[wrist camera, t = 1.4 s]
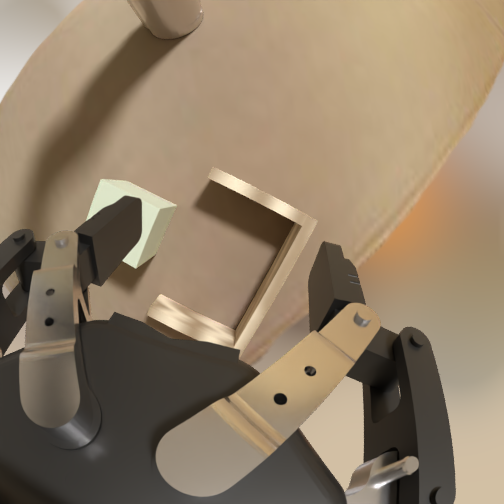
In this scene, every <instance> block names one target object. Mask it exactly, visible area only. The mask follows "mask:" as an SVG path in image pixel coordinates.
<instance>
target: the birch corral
mask: <svg viewBox="0 0 504 504" xmlns="http://www.w3.org/2000/svg"><path fill="white" fill-rule="evenodd" d="M207 178H209V179H211V180H213V181H215V182H218V183H220V184H222V185H224V186H226V187H228V188H230V189H232V190H234V191H236V192H238V193H240V194H242V195H244V196H246V197H248V198H250V199H252V200H254V201H256V202H258V203H260V204H261V205H263V206H265V207H267V208H269V209H271V210H273V211H275V212H277V213H279V214H281V215H283V216H284V217H286V218H288V219H290V220H292V221H294V222H295V223H294V225H293V227H292V229H291V231H290V233H289V234H288V236H287V238H286V240H285V242H284V244H283V246H282V247H281V249H280V251H279V253H278V255H277V257H276V259H275V260H274V262H273V264H272V266H271V268H270V269H269V271H268V273H267V275H266V277H265V279H264V280H263V282H262V284H261V286H260V288H259V289H258V291H257V293H256V295H255V297H254V298H253V300H252V302H251V304H250V306H249V307H248V309H247V311H246V313H245V314H244V316H243V318H242V320H241V321H240V323H239V325H238V327H237V329H236V330H234V329H232V328H229V327H227V326H225V325H223V324H221V323H218V322H216V321H214V320H212V319H210V318H208V317H206V316H203V315H201V314H199V313H197V312H195V311H193V310H191V309H189V308H187V307H185V306H183V305H181V304H179V303H177V302H175V301H173V300H171V299H169V298H167V297H165V296H163V295H161V294H160V295H159V296H158V298H157V299H156V300H155V301H154V303H153V304H152V305H151V306H150V308H149V311H148V314H147V315H148V316H150V317H152V318H153V319H155V320H157V321H159V322H161V323H163V324H165V325H167V326H169V327H171V328H173V329H175V330H177V331H179V332H181V333H183V334H185V335H187V336H190V337H192V338H194V339H196V340H198V341H207V342H211V343H215V344H219V345H223V346H227V347H231V348H235V349H239V350H240V354H239V358H240V356H241V354H242V353H243V351H244V349H245V348H246V346H247V345H248V343H249V341H250V340H251V338H252V336H253V335H254V333H255V331H256V330H257V328H258V326H259V325H260V323H261V321H262V320H263V318H264V316H265V315H266V313H267V311H268V310H269V308H270V306H271V304H272V303H273V301H274V299H275V298H276V296H277V294H278V292H279V291H280V289H281V287H282V285H283V284H284V282H285V280H286V278H287V277H288V275H289V273H290V271H291V270H292V268H293V266H294V264H295V262H296V261H297V259H298V257H299V255H300V253H301V252H302V250H303V248H304V246H305V244H306V242H307V241H308V239H309V237H310V235H311V233H312V231H313V229H314V228H315V226H316V224H317V222H318V221H317V220H315V219H313V218H312V217H310V216H308V215H306V214H304V213H303V212H301V211H299V210H297V209H295V208H293V207H292V206H290V205H288V204H286V203H284V202H282V201H280V200H279V199H277V198H275V197H273V196H271V195H269V194H267V193H265V192H263V191H261V190H259V189H257V188H255V187H253V186H251V185H250V184H248V183H246V182H244V181H242V180H240V179H238V178H235V177H233V176H231V175H229V174H227V173H225V172H223V171H221V170H219V169H217V168H215V167H212V169H211V171H210V173H209V175H208V177H207Z"/></svg>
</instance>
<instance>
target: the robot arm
mask: <svg viewBox="0 0 504 504" xmlns="http://www.w3.org/2000/svg"><path fill="white" fill-rule="evenodd" d="M127 2H128V3H129V4H130V6H131V7H132V9H133V10H134V12H135V13H136V15H137V16H138V18H139V19H140V20H141V22H142V23H143V25H144V26H145V28H148V29H149V30H150V31H151V33H152V34H153V35H154V36H156V37H158V38H161V39H174V38H178V37H182V36H184V35H186V34H188V33H190V32H192V31H193V30H194V29H196V28H197V27H198V26H199V24H200V23H201V21H202V19H203V10H202V7H201V3H200V0H127ZM141 234H142V201H141V199H140V198H137V197H132V196H127V195H125V196H123V197H122V198H120V199H119V200H118V201H116V202H115V203H114V204H111V205H109V206H106V207H104V208H102V209H101V210H100V211H98V212H97V214H95V215H93V216H92V217H91V219H88V220H87V221H86V222H85V223H83V224H82V225H81V226H80V227H78V228H77V229H76V230H75V231H74V232H73V231H69V230H64V231H59V232H56V233H54V234H52V235H51V236H50V237H49V238H48V239H47V240H46V241H35V238H34V233H33V231H32V230H30V229H22V230H18V231H16V232H14V233H13V234H11V235H10V236H9V237H8V238H7V239H5V240H4V241H3V242H2V243H1V244H0V504H453V503H454V500H455V494H456V488H455V468H454V456H453V447H452V439H451V433H450V425H449V419H448V414H447V409H446V404H445V398H444V394H443V389H442V385H441V381H440V376H439V373H438V369H437V365H436V361H435V358H434V354H433V351H432V348H431V344H430V342H429V340H428V338H427V337H426V336H425V335H424V334H423V333H422V332H421V331H420V330H418V329H416V328H413V327H405V328H404V329H403V330H402V331H401V332H400V333H399V335H398V334H395V333H393V332H391V331H389V330H387V329H385V328H383V327H381V322H380V319H379V317H378V315H377V314H376V312H375V311H374V310H372V309H371V308H370V307H368V306H366V303H365V299H364V296H363V292H362V288H361V285H360V281H359V278H358V274H357V271H356V268H355V266H354V265H353V264H352V263H351V261H350V260H348V259H345V258H344V256H343V252H342V248H341V246H340V245H336V244H333V243H329V242H325V241H324V242H323V243H322V244H321V246H320V249H319V252H318V254H317V257H316V259H315V262H314V264H313V267H312V270H311V272H310V276H309V281H308V292H309V318H310V320H309V321H310V334H309V335H307V336H306V337H305V338H304V339H303V340H302V341H301V342H300V343H298V344H297V345H296V346H294V347H293V348H292V349H291V350H290V351H288V353H286V354H285V355H284V356H283V357H281V358H280V359H279V360H277V361H276V362H275V363H274V364H272V365H271V366H270V367H269V368H267V369H266V370H265V371H264V372H262V373H261V374H260V373H259V372H258V371H257V370H255V369H254V368H253V367H251V366H250V365H248V364H247V363H245V362H243V361H241V360H239V354H240V350H239V349H235V348H231V347H227V346H223V345H219V344H215V343H211V342H207V341H192V340H179V339H171V338H168V337H166V336H165V335H163V334H161V333H160V332H158V331H156V330H155V329H153V328H151V327H150V326H148V325H146V324H145V323H143V322H141V321H138V320H135V319H132V318H130V317H127V316H124V315H121V314H119V313H116V312H114V313H113V315H112V316H111V318H110V320H93V321H92V313H91V304H90V292H89V288H88V286H89V285H90V283H93V284H95V285H98V286H102V285H103V284H104V282H105V281H106V280H107V279H108V277H109V276H110V275H111V274H112V272H113V271H114V270H115V269H116V268H117V266H118V265H119V264H120V263H121V262H122V260H123V259H124V258H125V257H126V256H127V255H128V253H129V252H130V251H131V250H132V249H133V248H134V246H135V245H136V244H137V243H138V242H139V240H140V238H141ZM14 271H15V272H16V274H17V277H18V280H19V284H18V285H17V286H16V287H15V288H14V289H13V291H12V292H11V293H10V294H9V295H8V297H7V298H6V299H5V298H4V296H3V293H2V287H3V284H4V282H5V280H6V279H7V278H8V277H9V276H10V275H11V274H12V273H13V272H14ZM25 322H26V335H25V347H24V348H22V349H20V350H18V351H15V352H13V353H10V354H8V355H6V356H3V355H4V354H5V352H6V351H7V349H8V347H9V346H10V344H11V343H12V341H13V339H14V338H15V337H16V335H17V334H18V332H19V330H20V329H21V328H22V326H23V325H24V323H25ZM345 376H348V377H350V378H352V379H355V380H357V381H359V382H362V383H363V403H364V463H363V464H361V465H360V466H359V467H357V468H356V470H355V471H354V473H353V475H352V477H351V481H350V484H349V487H348V489H347V490H346V491H345V492H344V490H343V488H342V487H341V485H340V484H339V483H338V481H337V480H336V479H335V477H334V476H333V474H332V473H331V472H330V470H329V469H328V468H327V466H326V465H325V464H324V462H323V461H322V460H321V458H320V457H319V455H318V454H317V453H316V451H315V450H314V448H313V447H312V446H311V444H310V443H309V442H308V440H307V439H306V437H305V436H304V435H303V433H302V431H301V430H300V429H299V427H300V425H302V424H303V423H304V422H305V421H306V419H308V417H309V416H310V415H311V414H312V413H313V412H314V411H315V410H316V409H317V408H318V407H319V406H320V404H321V403H322V402H323V401H324V400H325V399H326V398H327V397H328V396H329V394H330V393H331V392H332V391H333V390H334V389H335V387H336V386H337V385H338V384H339V383H340V381H341V380H342V379H343V378H344V377H345ZM398 386H399V387H400V394H399V387H398ZM400 395H401V396H400Z"/></svg>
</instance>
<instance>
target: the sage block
mask: <svg viewBox="0 0 504 504" xmlns="http://www.w3.org/2000/svg"><path fill="white" fill-rule="evenodd" d="M125 195H127V196H132V197H137V198H140V199H141V201H142V234H141V238H140V240H139V242H138V243H137V244H136V245H135V246H134V248H133V249H132V250H131V251H130V252H129V253H128V255H127V256H126V257H125V258H124V259H123V260H122V261H123V262H125V263H127V264H128V265H130V266H132V267H134V268H137V267H139V266H140V265H142V264H143V263H144V262H146V261H147V260H149V259H150V258H152V257H153V256H154V255H156V253H157V251H158V248H159V246H160V243H161V241H162V239H163V236H164V234H165V232H166V229H167V227H168V225H169V223H170V220H171V218H172V216H173V214H174V211H175V209H176V207H177V205H175V204H173V203H171V202H169V201H167V200H165V199H163V198H161V197H159V196H157V195H155V194H153V193H151V192H149V191H147V190H145V189H143V188H140V187H138V186H136V185H134V184H132V183H130V182H128V181H122V180H106V179H101V181H100V183H99V186H98V188H97V191H96V194H95V196H94V199H93V202H92V205H91V208H90V211H89V214H88V217H87V220H88V219H91V217H92V216H93V215H95V214H97V212H98V211H100V210H101V209H102V208H104V207H106V206H109V205H111V204H114V203H115V202H116V201H118V200H119V199H120V198H122V197H123V196H125ZM87 220H86V221H87Z"/></svg>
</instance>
